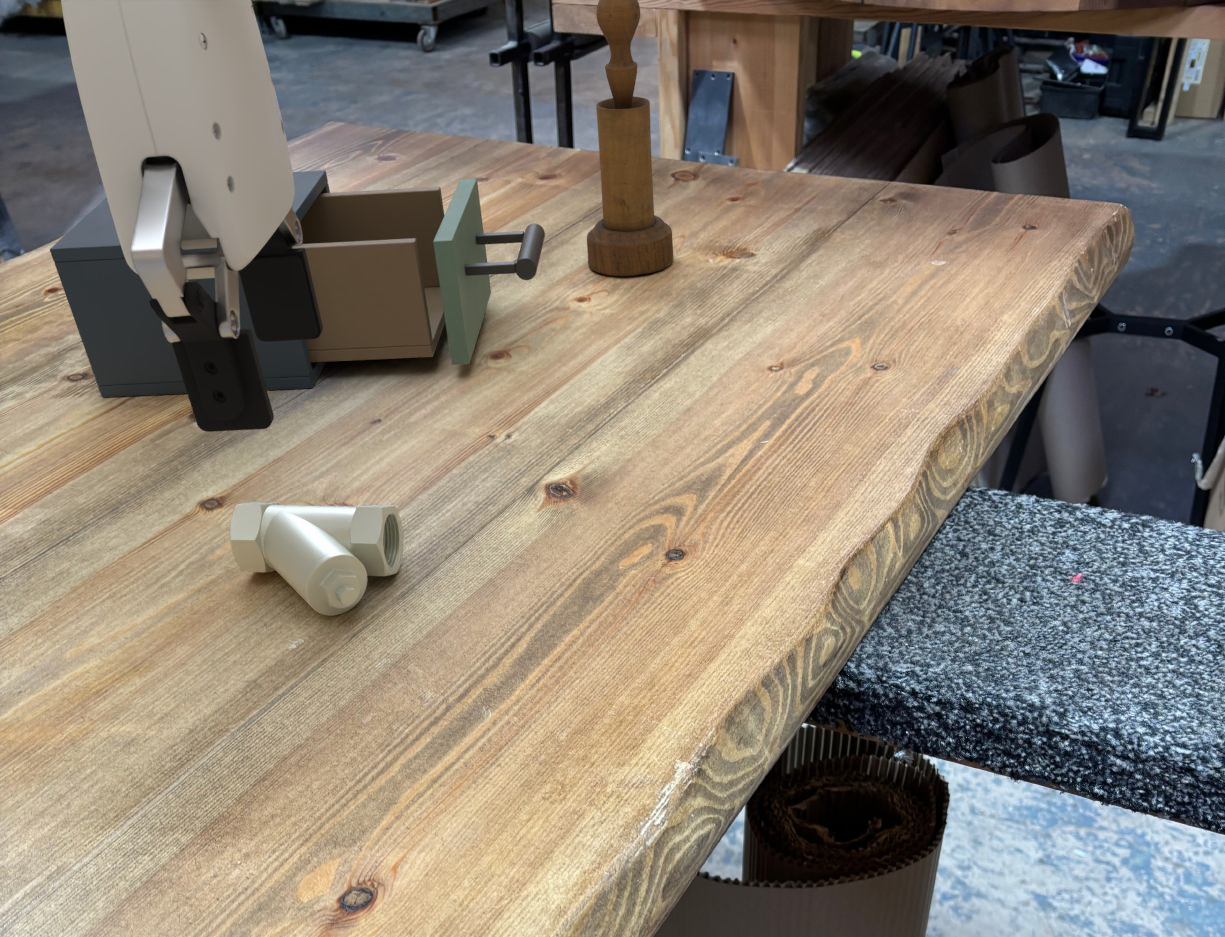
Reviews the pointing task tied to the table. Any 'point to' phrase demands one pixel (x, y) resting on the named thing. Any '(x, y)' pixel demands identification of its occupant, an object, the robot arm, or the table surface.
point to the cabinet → (130, 329)
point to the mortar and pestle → (625, 161)
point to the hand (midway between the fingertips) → (266, 379)
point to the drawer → (404, 271)
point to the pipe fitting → (319, 548)
